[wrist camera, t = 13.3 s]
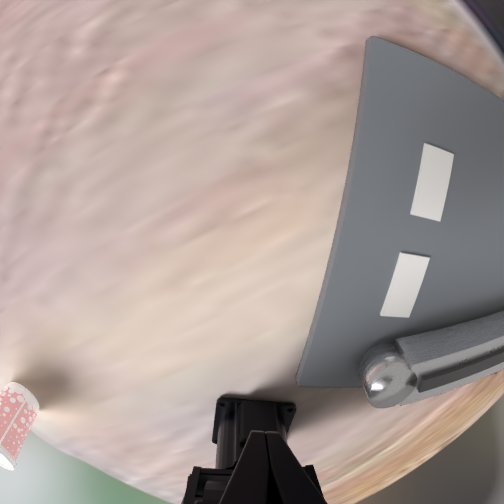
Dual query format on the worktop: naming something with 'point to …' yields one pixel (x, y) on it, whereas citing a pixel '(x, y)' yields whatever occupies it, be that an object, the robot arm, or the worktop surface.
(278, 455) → the robot arm
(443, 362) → the bar
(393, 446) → the worktop surface
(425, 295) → the label board
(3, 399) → the beverage cup
